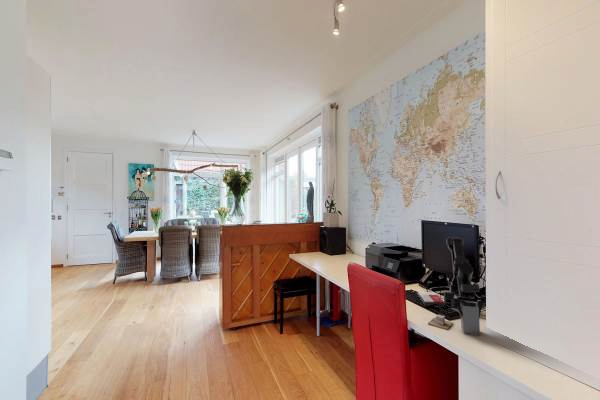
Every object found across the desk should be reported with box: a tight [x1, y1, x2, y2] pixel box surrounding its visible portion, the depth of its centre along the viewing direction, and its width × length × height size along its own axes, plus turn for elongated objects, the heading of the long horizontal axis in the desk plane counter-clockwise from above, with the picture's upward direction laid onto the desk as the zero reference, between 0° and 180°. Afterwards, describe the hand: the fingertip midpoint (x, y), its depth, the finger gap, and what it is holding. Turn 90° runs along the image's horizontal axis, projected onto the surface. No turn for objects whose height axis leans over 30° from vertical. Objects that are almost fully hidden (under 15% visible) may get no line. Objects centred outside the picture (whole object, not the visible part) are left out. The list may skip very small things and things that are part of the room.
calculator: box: [416, 291, 446, 306], centre depth 151 cm, size 11×4×15 cm
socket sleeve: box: [460, 301, 481, 337], centre depth 116 cm, size 6×6×12 cm
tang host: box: [427, 314, 454, 331], centre depth 124 cm, size 8×8×4 cm
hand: (470, 317), depth 115 cm, fingers closed on socket sleeve, 6 cm apart
